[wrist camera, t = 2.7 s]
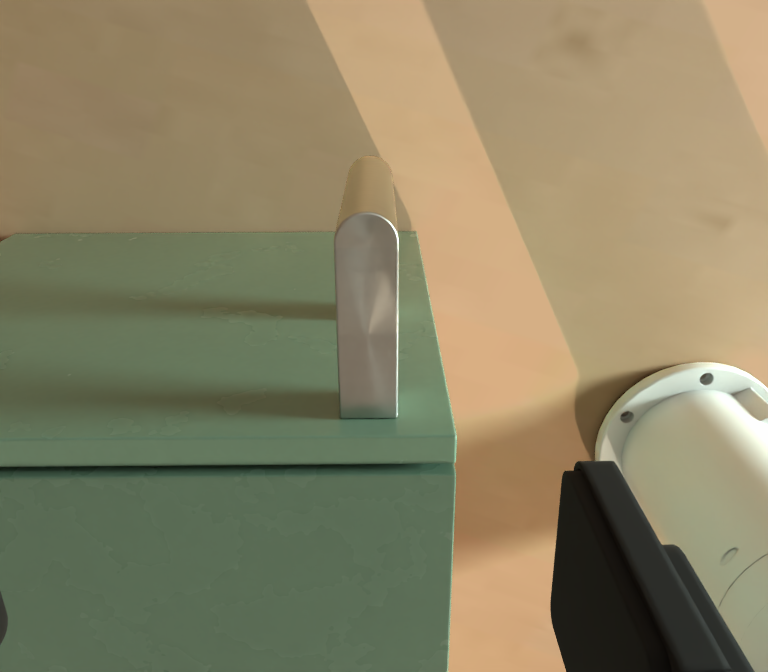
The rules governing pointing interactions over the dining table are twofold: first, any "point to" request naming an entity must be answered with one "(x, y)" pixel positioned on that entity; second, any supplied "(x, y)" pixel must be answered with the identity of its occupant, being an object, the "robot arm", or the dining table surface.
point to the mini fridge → (227, 568)
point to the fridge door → (224, 345)
